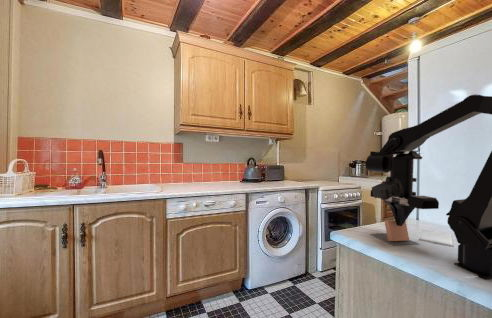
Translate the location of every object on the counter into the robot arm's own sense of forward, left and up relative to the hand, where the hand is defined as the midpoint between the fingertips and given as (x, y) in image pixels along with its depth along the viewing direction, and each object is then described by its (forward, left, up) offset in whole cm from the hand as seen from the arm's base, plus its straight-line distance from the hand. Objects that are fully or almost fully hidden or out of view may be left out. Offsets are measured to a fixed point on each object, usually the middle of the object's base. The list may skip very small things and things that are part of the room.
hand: (399, 225), depth 69 cm
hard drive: (+1, -14, -6) cm, 16 cm away
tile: (0, 0, -5) cm, 5 cm away
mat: (+2, 0, -5) cm, 6 cm away
